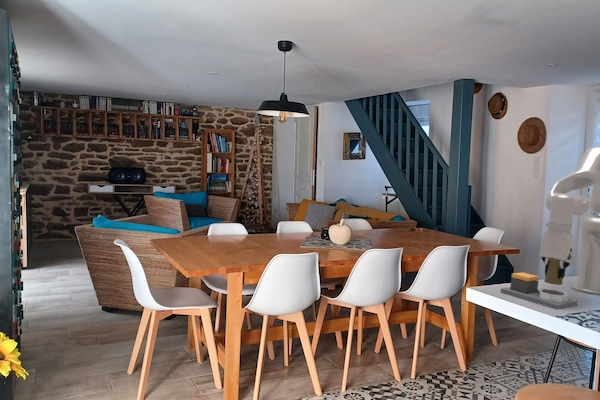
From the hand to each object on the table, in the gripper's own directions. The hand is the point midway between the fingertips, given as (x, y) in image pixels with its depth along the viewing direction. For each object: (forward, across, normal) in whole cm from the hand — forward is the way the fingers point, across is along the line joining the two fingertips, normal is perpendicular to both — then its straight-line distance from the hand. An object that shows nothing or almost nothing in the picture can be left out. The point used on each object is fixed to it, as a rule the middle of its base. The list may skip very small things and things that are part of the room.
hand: (554, 276), depth 185 cm
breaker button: (+7, -11, 0) cm, 13 cm away
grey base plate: (+10, -6, 0) cm, 11 cm away
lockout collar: (+8, 0, 0) cm, 8 cm away
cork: (+2, 0, 0) cm, 2 cm away
